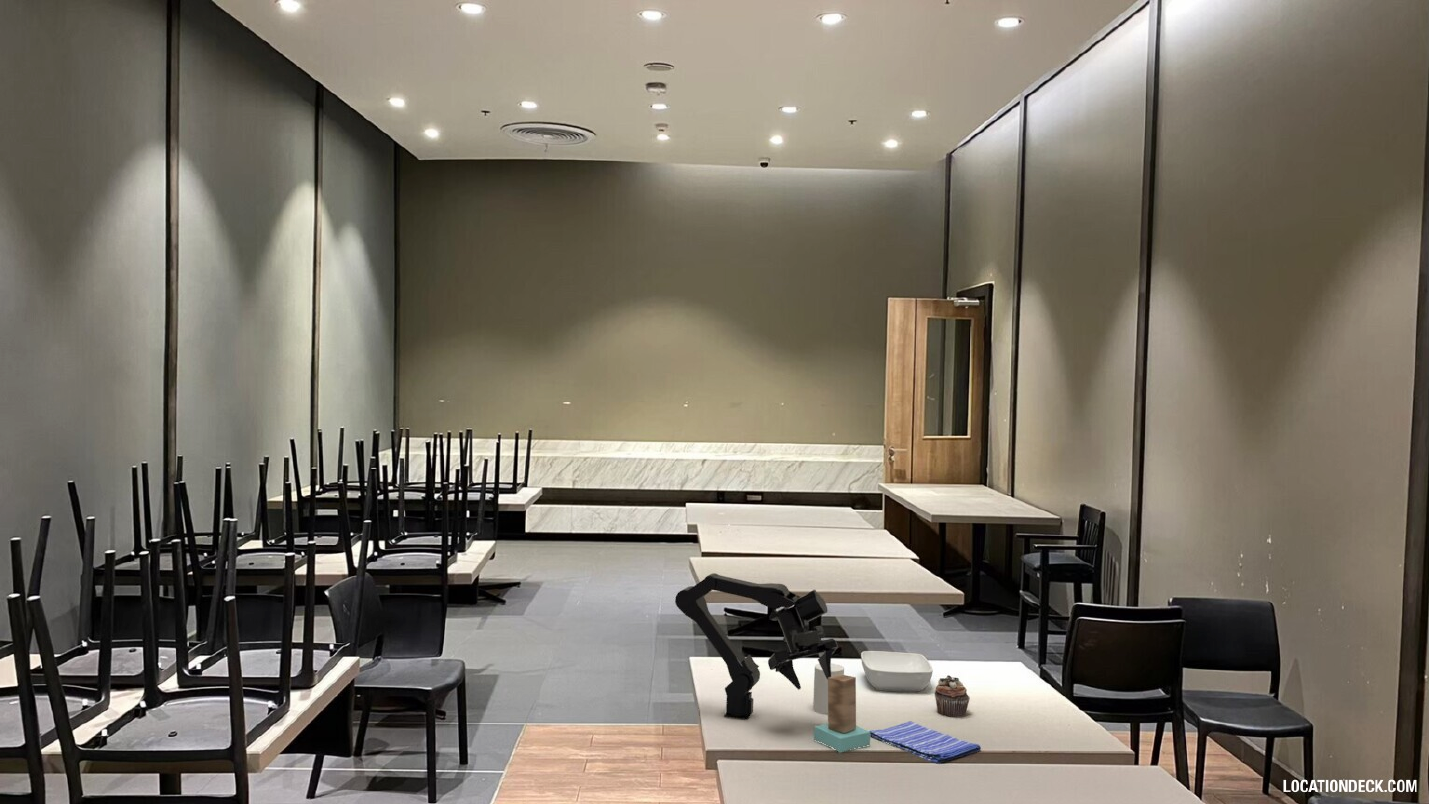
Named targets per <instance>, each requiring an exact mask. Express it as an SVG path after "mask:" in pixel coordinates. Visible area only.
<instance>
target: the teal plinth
mask: <svg viewBox="0 0 1429 804" xmlns="http://www.w3.org/2000/svg"><path fill="white" fill-rule="evenodd" d="M813 731H814V732H813V741H814V740H816V741H819V742H822V743H824V744H826V745H828V746H831V747H833V748H834V749H836V750H837V751H838V752H837V751H836V752H837V753H839V754H840V753H845V752H848V751H847V750H850V749H854V748H858V747H863V746H867V745H870V746H871V737H870V732H869V731H870V730H867V729H865V728H862V727H860V726H857V725H856V729H854V730H852V731H849V732H847V733H841V732H837V731H833V730H829V729H828V723H826V724H819V725H815V726H814V730H813ZM816 741H815V742H816ZM867 747H868V746H867ZM863 748H864V747H863ZM854 750H855V749H854ZM844 751H845V752H844ZM850 751H851V750H850Z"/></svg>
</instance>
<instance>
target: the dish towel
mask: <svg viewBox="0 0 1429 804" xmlns="http://www.w3.org/2000/svg"><path fill="white" fill-rule="evenodd" d="M868 731H869V732H870V736H872V738H873V739H875V738H876V739H875V740H877V739H878V741H880V742H882V743H884V742H887V743H889V744H891V745H890V746H892V745H893V746H892V747H895V746H896V747H895V748H897V749H899V748H900V750H902V751H904V752H907V753H910V754H912V755H915V756H916V757H920V758H922V759H924V760H927V761H929V762H932V763H934V764H942V763H944V762H947V761H951V760H953V759H957V758H960V757H964V756H967V755H970V754H974V753H976V752H980V750H981V749H982V748H981V747H982V746H981V745H980V744H977V743H973V742H968V741H965V740H963V739H959V738H957V737H953V736H951V735H949V734H946V733H942V732H939V731H937V730H934V729H932V728H928V727H925V726H922V725H920V724H919V723H917V722H913V721H910V720H909V721H908V722H904V723H900V724H897V725H894V726H890V727H888V728H884V729H876V730H868ZM887 743H886V744H887ZM889 744H888V745H889Z"/></svg>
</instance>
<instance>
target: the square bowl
mask: <svg viewBox="0 0 1429 804" xmlns="http://www.w3.org/2000/svg"><path fill="white" fill-rule="evenodd" d="M860 659H861V660H860V661H861V666H862V668H863V671H864V674H865V677H866V679H867V681H868V682H869V683H870V684H871V685H872V686H873V687H874V688H875V690H878V691H887V692H889V691H891V692H911V693H913V692H915V693H919V692H920V691H922V690H923V689H925V688H926V687H928V685H929V684H930V682H931V679H932V677H933V670H934V669H933V666H932V665H931V663H930V662H929V661H930V660H928V659H927V657H925V656H924V655H923V654H921V653H914V652H901V651H900V652H898V651H897V652H896V651H895V652H894V651H882V650H881V651H880V650H864V651H862V652H861V653H860Z"/></svg>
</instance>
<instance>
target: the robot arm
mask: <svg viewBox="0 0 1429 804" xmlns="http://www.w3.org/2000/svg"><path fill="white" fill-rule="evenodd" d="M712 591H716V592H719V593H720V592H721V593H725V594H729V595H734V596H737V597H742V598H746V599H752V600H754V601H756V603H758V604H760V605H762V606H765V607H767V608H770V609H772V611H771V613H770V615H769V620H771V621H775V622H777V621H778V623H779V626H780V628H781V630H782V634H783V636H784V637H783V638H782V640H783V642H784V643H787V646H788V649H789V651H788V650H786V649H784V650H781V651H777V652H773V654H772V655H771V656H770V657H769V658H768V659H767V664H768V668H769V670H770V671H775V672H776V673H780V674H781V675H782V676H783V677H785V678H786V679H787V680H788V681H789V682H790V683H791V684H792V685H793V686H794V687H795V688H796V689H797V690H801V689H802V687H801V683H800V681H799V677H798V676H797V674H796V670H795V669H794V664H793V663H794V662H793V661H794V660H798V659H803V658H806V657H809V656H814V655H816V656H817V657H818V658H817V661H818V664H820V666H821V668H822V670H823V672H824V674H825V676H826V678H827V680H828V678H829V677H831V663H832V662H831V661H832V656H833V654H835V652H836V650H837V649H838V648H839V645H838V642H837V641H836V640H835V639H834V638H828V639H824V638H825V636H826V634H825V631H824V628H823V627H822V625H817V626H813V627H812V630H809V628H808V627H807V626H804V624H803V621H806V622H808V623H809V622H811V621H813V620H815V619H817V618H819V617H821V616H823V615H825V614H827V613H828V606H827V603H826V602H825V599H824V598H823V597H822V595H820V594H819V593H818V592H817V590H816V589H812V590H811V591H809V592H808V593H806V594H804V595H803V596H802V595H801V596H800V595H798V594H796V593H794V592H792V591H790V589H789V588H788V587H787V586H786V585H785V584H783V583H775V582H774V583H771V582H769V583H756V582H751V581H746V580H742V579H737V578H734V577H733V578H732V577H728V576H724V575H719V574H718V573H710V574H708V575H707V576H705V577H704V579H701V580H700V581H699V582H698V583H696V584H695V585H690V586H688V587H685V588H683V589H682V590H680V591H678V592H677V594H676V595H675V601H674V602H675V605H676V607H677V608H678V609H679V611H681V612H682V613H683V615H684V616H686V617H688V619H691V620H692V621H694V622H695V623H696V625H697V626H698V627H699V628H700V630H701V631H702V633H703V634H704V636H705V637H706V638H707V640H708V641H709V642H710V644H711V645H712V647H713V648H714V649H715V651H716V652H717V653H718V655H719V656H720V657H721V658H722V660H723V662H724V663H725V664H726V667H727V670H728V674H729V677H730V679H731V682H730V683H729V684H727V686H725V687H724V690H725V695H726V702H725V703H726V706H725V707H726V708H725V709H726V710H725V713H724V714H723V717H725V718H731V719H740V720H746V721H747V720H749V718H750V717H751V716H752V715H753V713H754V697H753V696H752V693H753V692H752V691H751V690H752V689H753V688H754V686H755V685H756V684H757V683H758V682H759V681H760V679H761V671H760V669H759V668H760V666H759V664H757V663H756V662H755V661H754V658H753V657H752V655H751V654H748V656H746V657H745V656H744V655H742V654H741V653H740V652H739V651H738V649H737V648H736V646H735V645H734V643H733V642H732V641H731V640H730V638H729V637H728V636H727V634H726V633H725V632H724V630H723V629H722V627H721V626H720V625H719V624H718V623H719V622H717V620H716V619H715V618H714V617H713V615H712V614H711V613H710V611H709V607H708V604H707V600H706V598H705V596H706V595H707V594H709V593H710V592H712ZM778 609H779V610H778ZM821 639H824V640H821ZM815 645H816V646H815Z"/></svg>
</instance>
